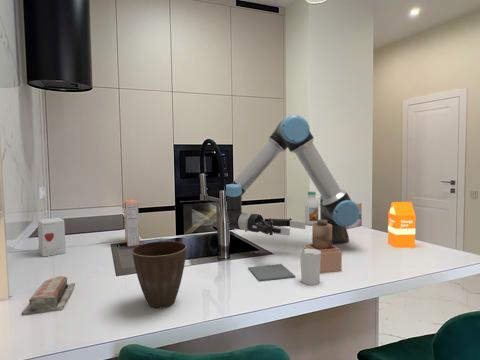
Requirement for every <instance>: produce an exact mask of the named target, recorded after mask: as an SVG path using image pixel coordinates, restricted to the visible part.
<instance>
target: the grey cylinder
mask: <svg viewBox="0 0 480 360" xmlns="http://www.w3.org/2000/svg"><path fill="white" fill-rule="evenodd" d="M299 256H300V273H301V275H300V276H301V278H300V279H301V280H300V281H301V283H303V284H305V285H309V286H310V285H311V286H314V285H319V284H320V280H321V279H320V277H321V273H320V261H321V251H319V250H316V249H304V248H302V249H300V251H299Z"/></svg>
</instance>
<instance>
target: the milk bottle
mask: <svg viewBox="0 0 480 360" xmlns="http://www.w3.org/2000/svg"><path fill="white" fill-rule="evenodd" d="M316 195H317V194H316V191H313V190H312V191H310V190H309V191H307V200H306V202H305V207H304V210H305V211H304V213H305V214H304V216H305V217H304V219H305V220H304V222H305V226H312V224H314V223H317V220H319V204H318V201H317V199H316Z"/></svg>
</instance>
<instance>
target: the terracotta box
mask: <svg viewBox="0 0 480 360" xmlns="http://www.w3.org/2000/svg"><path fill="white" fill-rule="evenodd" d="M303 249H315V248H313V247H312V243H305V246H303ZM340 249H341V248H340V247H337V246H336V245H334V244H332V249H323V250H319V251H321V261H320V274H324V273H334V272H342V267H343V266H342V265H343V264H342V262H343V261H342V255H343V253H342V250H340ZM316 250H317V249H316Z"/></svg>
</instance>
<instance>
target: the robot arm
mask: <svg viewBox="0 0 480 360" xmlns="http://www.w3.org/2000/svg"><path fill="white" fill-rule="evenodd" d="M310 129H311V128H310V125H309V122H308V121H307V119H306V118H305V117H303V116H301V115H293V114H292V115H289V116H287V117H285V118H284V119H282V120H281V121H280V122H279V123H278V125H277V126H276V127H275V130H274V131H273V132H272V133H271V135H270V136H269V137H268V141H267V142H266V144H265V145H264V146H263V147H262V148H261V149H260V151H258V152H257V154H256V155H255V156H254V157H253V159H252V160H251V161H250V162H249V163H248V164H247V165H246V166H245V168H243V170H242V171H241V172H240V174H239V175H238V176H237V177H236V178H235V179H234V180H233V181H232V183H230V184H225V185H226V196H227V212H228V217H229V221H230V224H229V227H230V228H229V229H231V230H233V229H234V230H238V231H239V230H240V231H244V232H245V233H246V232H251V233H262V234H265V235H269V236H273V234H276V235H281V236H287V237H288V236H290V235H291V232H290V231H291V228H294V229H299V230H300V229H302V230H305V229H306V224H305V221H301V220H300V221H298V220H292V218H286V219H285V218H264V217H263V215H261V214H257V213H252V212H242V210H243V208H242V207H243V206H242V204H243V202H242V199H243V195H244V194H245V193H246V191H247V190H248V189H249V188H250V187H252V185H253V183H254V182H256V180H258V178H259V177H260V175H262V174H263V173H264V171H266V169H267V168H268V167H269V166H270V165H271V163H273V161H274V160H275V159H276V158H277V157H278V155H279V154H280V153H281V152H282V153H284V152H285V151H286V150H287V149H288V150H289V152H290V153H292V154H293V153H294V154H296V157H297V158H298V160H299V161H300V163H301V165H302V167H303V168H304V170H305V172H306V174H307V175H308V176H309V178H310V180H311V182H312V183H313V185H314V186H315V188H316V190H317V191H318V192H319V194H320V200H319V204H320V205H319V206H320V207H319V209H320V210H319V211H320V212H319V213H320V215H319V216H320V219H319V220H327V223H328V224H331V225H332V245H344V244H348V243H349V240H350V238H349V233H348V229H346V227H347V226H351V225H353V224H354V223H356V221H357V220H358V218H359V215H360V209H359V207H358V205H357V204H358V203H356V202H355V201H354V200H352V199H351V197H350V196H349V194H348V192H347V191H346V190H345V189H341V187H340V185H339V184H338V183H337V181H336V179H335V178H334V176H333V174H332V173H331V171H330V170H329V168H328V166H327V165H326V163H325V161H324V159H323V157H322V156H321V154H320V153H319V151H318V149H317V148H316V146H315V144H314V135H313V134H312V133H311V131H310Z"/></svg>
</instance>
